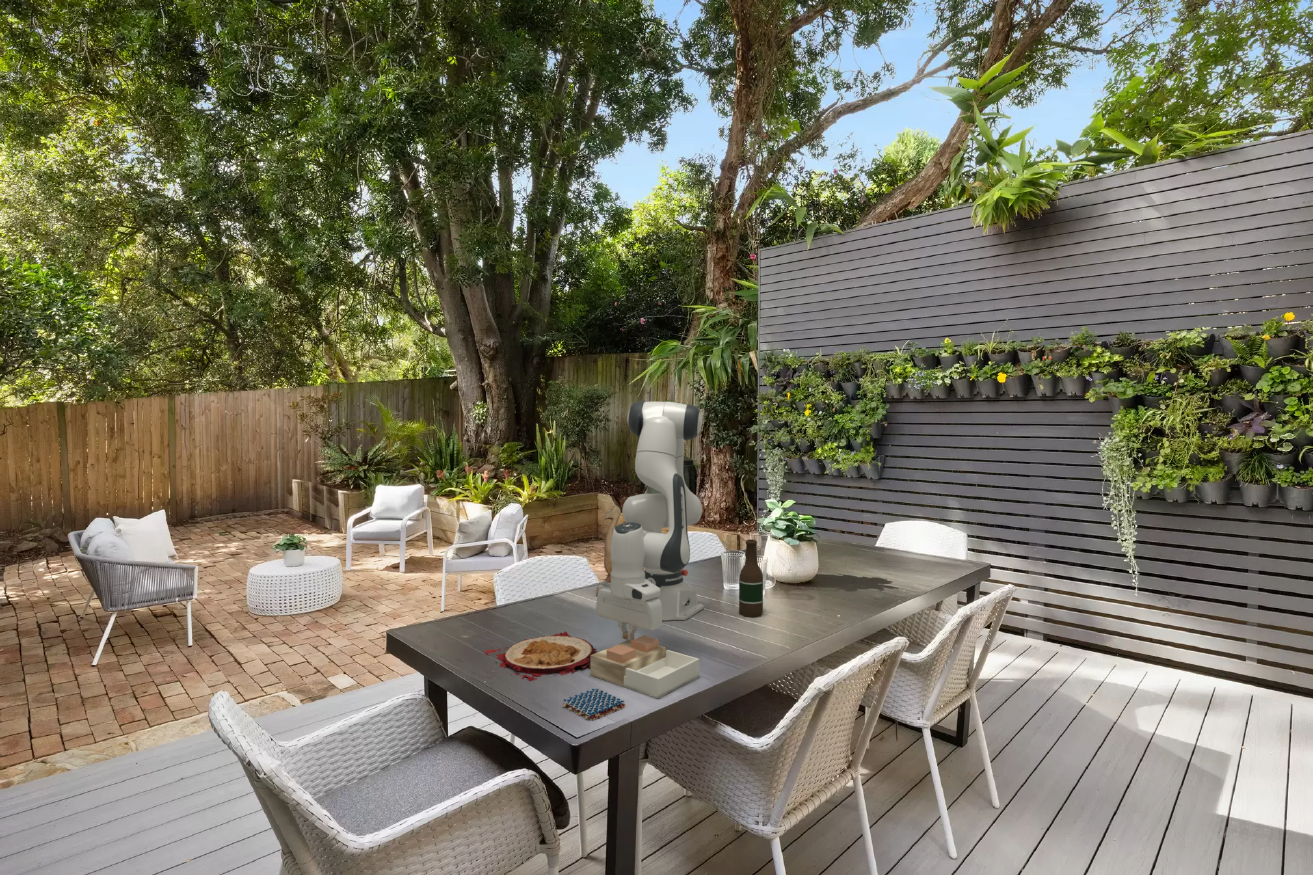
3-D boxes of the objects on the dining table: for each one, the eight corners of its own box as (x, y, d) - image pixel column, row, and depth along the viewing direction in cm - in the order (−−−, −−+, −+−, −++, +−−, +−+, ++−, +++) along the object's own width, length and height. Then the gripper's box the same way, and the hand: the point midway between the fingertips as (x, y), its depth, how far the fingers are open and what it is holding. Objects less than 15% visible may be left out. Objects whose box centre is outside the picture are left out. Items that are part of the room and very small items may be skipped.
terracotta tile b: (620, 652, 166) (620, 644, 165) (635, 657, 162) (635, 649, 162) (606, 658, 162) (606, 650, 162) (621, 663, 159) (621, 654, 158)
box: (665, 666, 169) (665, 649, 169) (699, 676, 163) (699, 658, 163) (623, 686, 157) (623, 667, 157) (658, 698, 150) (658, 679, 150)
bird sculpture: (597, 588, 244) (596, 502, 243) (628, 588, 245) (628, 502, 244) (596, 597, 233) (595, 507, 232) (629, 596, 234) (629, 506, 233)
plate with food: (566, 638, 193) (565, 626, 193) (612, 664, 171) (612, 650, 171) (484, 656, 180) (483, 643, 180) (522, 687, 158) (522, 673, 158)
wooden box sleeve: (633, 656, 176) (633, 638, 176) (665, 666, 169) (665, 647, 169) (590, 675, 164) (590, 655, 164) (623, 686, 157) (623, 665, 157)
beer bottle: (767, 613, 214) (768, 539, 213) (754, 619, 208) (754, 543, 207) (747, 609, 219) (748, 536, 218) (734, 614, 213) (734, 540, 212)
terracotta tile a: (643, 642, 173) (643, 635, 172) (658, 647, 169) (658, 639, 169) (630, 648, 169) (630, 640, 169) (646, 652, 166) (646, 644, 165)
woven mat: (590, 724, 139) (590, 715, 139) (560, 708, 147) (560, 699, 147) (628, 709, 146) (628, 700, 146) (597, 694, 154) (597, 685, 154)
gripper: (590, 582, 176) (590, 633, 177) (649, 595, 163) (650, 651, 164) (607, 577, 181) (607, 627, 181) (665, 590, 168) (665, 644, 169)
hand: (628, 639), depth 172 cm, fingers closed
